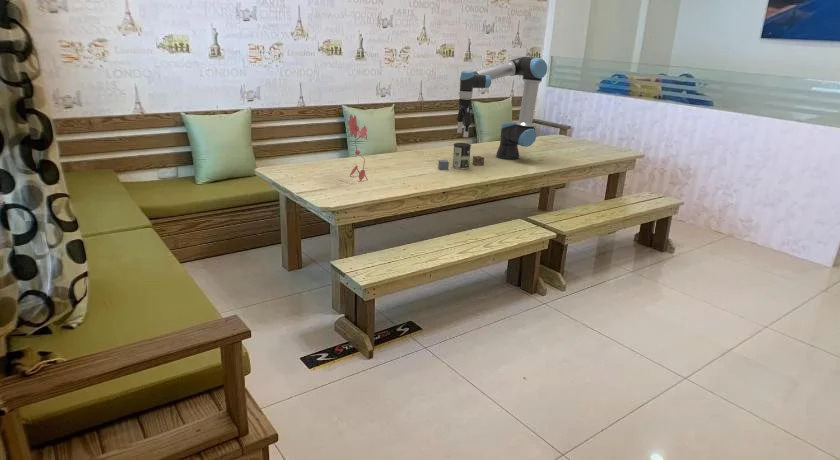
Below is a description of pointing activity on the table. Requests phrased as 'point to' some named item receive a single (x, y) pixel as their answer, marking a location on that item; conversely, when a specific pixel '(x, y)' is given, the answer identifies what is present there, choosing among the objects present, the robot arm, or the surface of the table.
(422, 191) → the table surface
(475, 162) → the walnut block
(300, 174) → the table surface
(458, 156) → the coffee can
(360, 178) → the red plant
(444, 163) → the blue-gray block
